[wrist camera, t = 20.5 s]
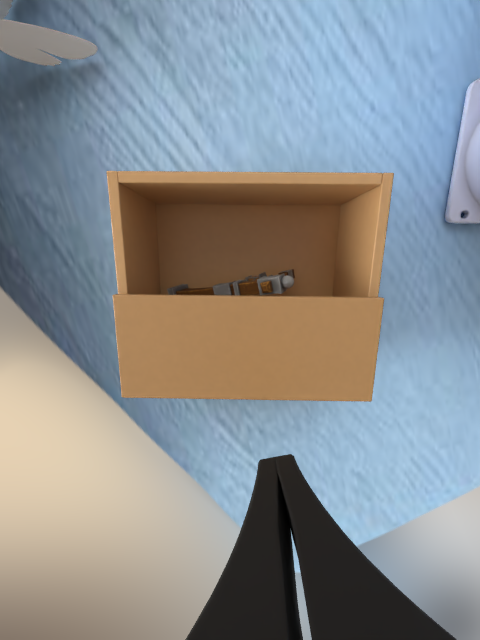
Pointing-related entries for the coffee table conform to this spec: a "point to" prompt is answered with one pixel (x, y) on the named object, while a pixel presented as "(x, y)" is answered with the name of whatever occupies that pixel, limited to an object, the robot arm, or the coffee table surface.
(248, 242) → the bin
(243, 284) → the wooden post with brackets
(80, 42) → the fairy figurine
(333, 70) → the coffee table surface
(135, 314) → the bin flap
